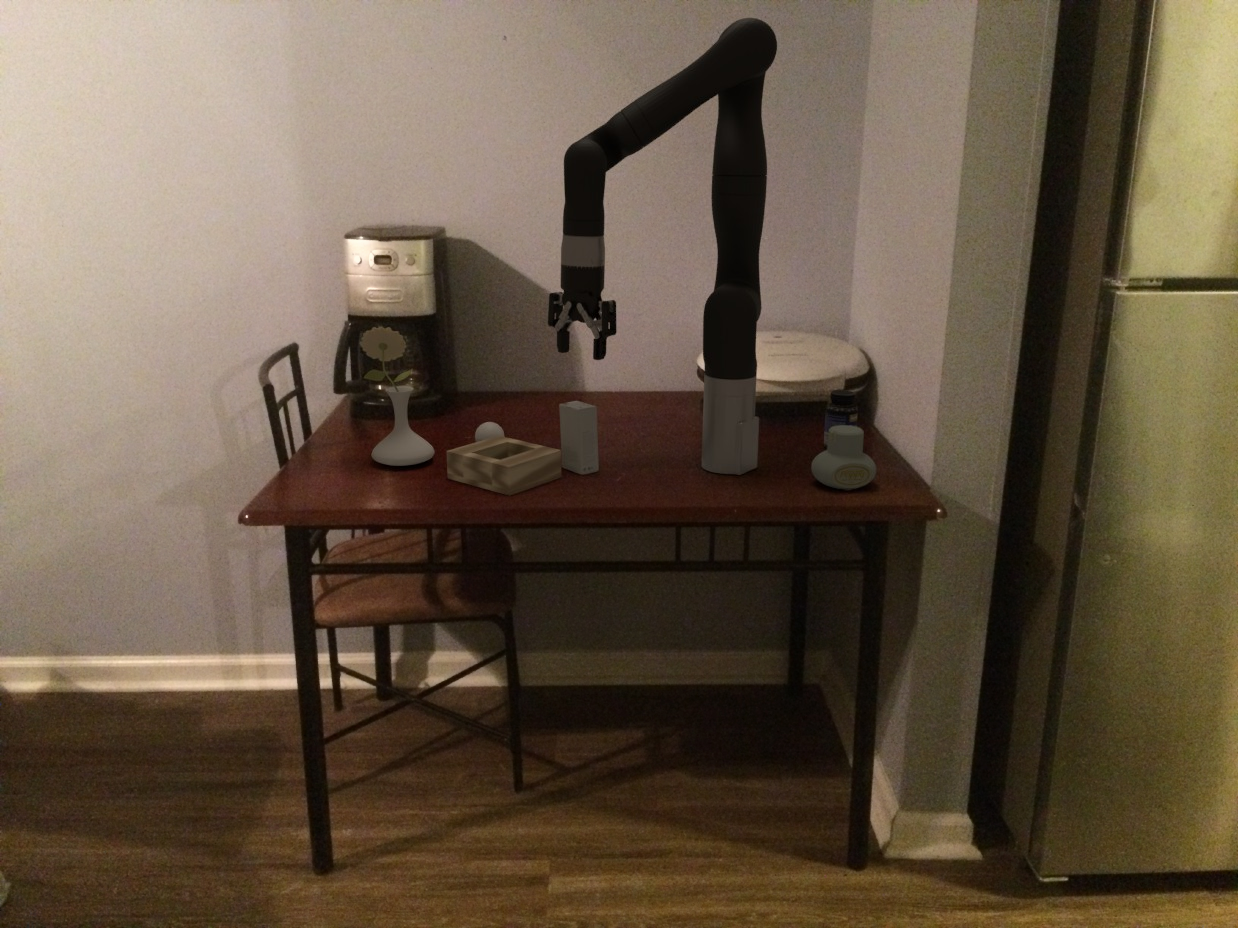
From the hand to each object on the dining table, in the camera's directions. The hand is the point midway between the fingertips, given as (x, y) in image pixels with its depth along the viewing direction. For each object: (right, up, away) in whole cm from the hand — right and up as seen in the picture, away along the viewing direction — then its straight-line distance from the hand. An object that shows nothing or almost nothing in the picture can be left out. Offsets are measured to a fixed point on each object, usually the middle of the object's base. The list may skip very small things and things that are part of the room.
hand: (580, 355), depth 179 cm
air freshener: (+45, -23, -2) cm, 51 cm away
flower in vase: (-34, -19, +9) cm, 40 cm away
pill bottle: (+50, -16, +20) cm, 56 cm away
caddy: (-13, -21, 0) cm, 25 cm away
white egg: (-19, -17, +17) cm, 30 cm away
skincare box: (0, -20, +5) cm, 21 cm away
